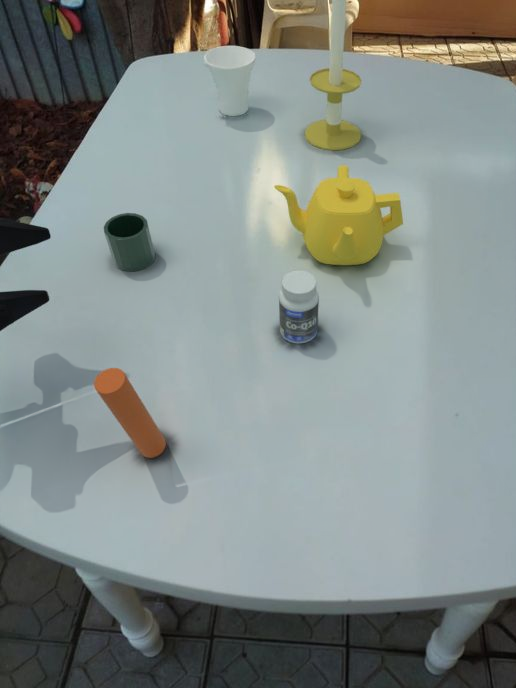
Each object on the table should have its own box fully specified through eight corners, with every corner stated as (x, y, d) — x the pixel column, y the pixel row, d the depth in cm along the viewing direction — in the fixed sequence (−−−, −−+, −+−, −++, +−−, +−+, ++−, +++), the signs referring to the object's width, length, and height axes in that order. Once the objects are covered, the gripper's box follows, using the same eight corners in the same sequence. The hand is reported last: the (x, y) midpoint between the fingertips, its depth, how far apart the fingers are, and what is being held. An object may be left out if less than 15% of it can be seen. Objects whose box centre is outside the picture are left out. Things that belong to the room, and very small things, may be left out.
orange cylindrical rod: (141, 461, 61) (95, 397, 51) (138, 439, 63) (92, 372, 53) (167, 453, 61) (126, 388, 51) (163, 430, 63) (123, 363, 53)
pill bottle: (284, 348, 72) (283, 299, 65) (276, 320, 74) (274, 271, 68) (322, 340, 72) (324, 292, 66) (312, 314, 75) (313, 264, 69)
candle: (362, 151, 101) (378, -28, 80) (304, 149, 100) (305, -30, 80) (360, 121, 107) (374, -51, 87) (305, 119, 107) (306, -53, 86)
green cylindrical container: (115, 274, 79) (105, 242, 75) (112, 248, 82) (102, 216, 78) (157, 267, 80) (150, 235, 76) (152, 241, 84) (144, 209, 79)
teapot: (275, 242, 84) (272, 183, 77) (339, 204, 91) (343, 145, 83) (344, 291, 78) (348, 232, 71) (408, 246, 85) (418, 187, 77)
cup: (201, 104, 109) (193, 49, 102) (247, 94, 112) (243, 40, 105) (219, 127, 104) (212, 70, 97) (266, 116, 107) (264, 60, 100)
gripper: (-225, 285, 41) (20, 261, 44) (-161, 144, 52) (29, 134, 56) (-144, 384, 49) (56, 356, 53) (-105, 243, 60) (57, 229, 64)
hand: (49, 262), depth 56 cm, fingers open, 9 cm apart
